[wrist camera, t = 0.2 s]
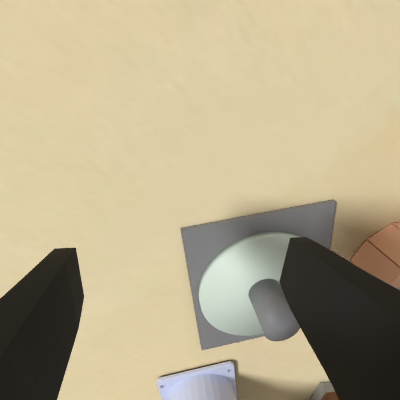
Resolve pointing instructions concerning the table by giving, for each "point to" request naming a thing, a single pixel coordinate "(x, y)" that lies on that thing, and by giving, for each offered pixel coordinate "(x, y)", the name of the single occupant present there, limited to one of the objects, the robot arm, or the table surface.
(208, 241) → the mat
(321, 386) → the coffee maker
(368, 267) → the bowl
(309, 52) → the table surface
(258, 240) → the lid
